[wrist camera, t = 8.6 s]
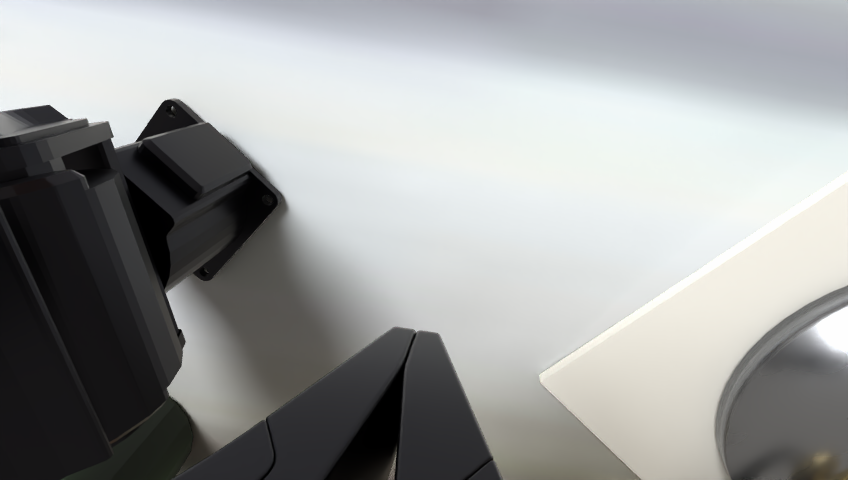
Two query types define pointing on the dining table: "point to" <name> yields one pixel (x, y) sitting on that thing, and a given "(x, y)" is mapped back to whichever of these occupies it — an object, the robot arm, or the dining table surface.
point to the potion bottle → (147, 450)
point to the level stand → (701, 341)
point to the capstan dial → (791, 399)
